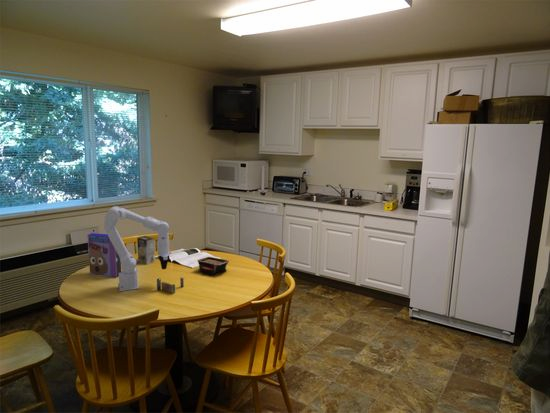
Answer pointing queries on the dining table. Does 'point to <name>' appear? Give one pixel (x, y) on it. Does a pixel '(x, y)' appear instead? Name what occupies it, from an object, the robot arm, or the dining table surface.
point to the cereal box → (103, 256)
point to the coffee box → (145, 249)
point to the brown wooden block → (168, 287)
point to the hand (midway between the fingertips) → (164, 268)
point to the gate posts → (160, 283)
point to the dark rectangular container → (212, 265)
